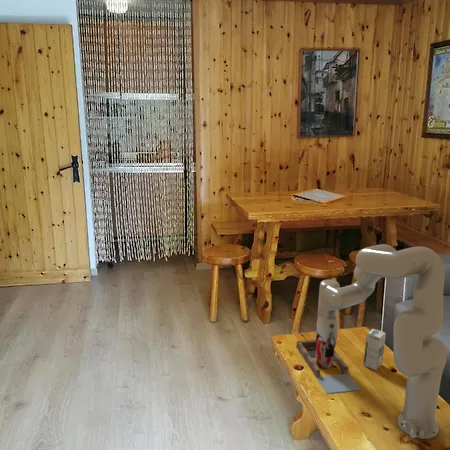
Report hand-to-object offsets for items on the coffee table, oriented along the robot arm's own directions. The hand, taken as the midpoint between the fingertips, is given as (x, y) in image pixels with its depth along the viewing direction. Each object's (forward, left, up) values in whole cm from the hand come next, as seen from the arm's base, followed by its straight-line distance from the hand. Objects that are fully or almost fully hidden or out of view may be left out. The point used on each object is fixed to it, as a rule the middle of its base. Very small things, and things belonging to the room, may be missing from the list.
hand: (324, 350), depth 186 cm
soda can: (0, 0, -7) cm, 7 cm away
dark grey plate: (+8, +5, -6) cm, 11 cm away
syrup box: (+8, -18, -7) cm, 21 cm away
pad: (-11, -8, -6) cm, 15 cm away
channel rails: (+3, +2, -6) cm, 7 cm away
